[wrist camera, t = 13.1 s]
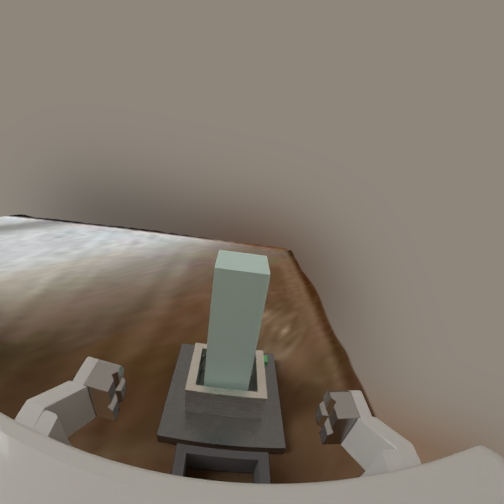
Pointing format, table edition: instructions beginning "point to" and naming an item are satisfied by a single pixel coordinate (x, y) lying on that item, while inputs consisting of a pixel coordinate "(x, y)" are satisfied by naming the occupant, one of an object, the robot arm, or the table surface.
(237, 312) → the plug
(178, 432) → the port panel
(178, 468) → the holster
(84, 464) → the robot arm
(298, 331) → the table surface
